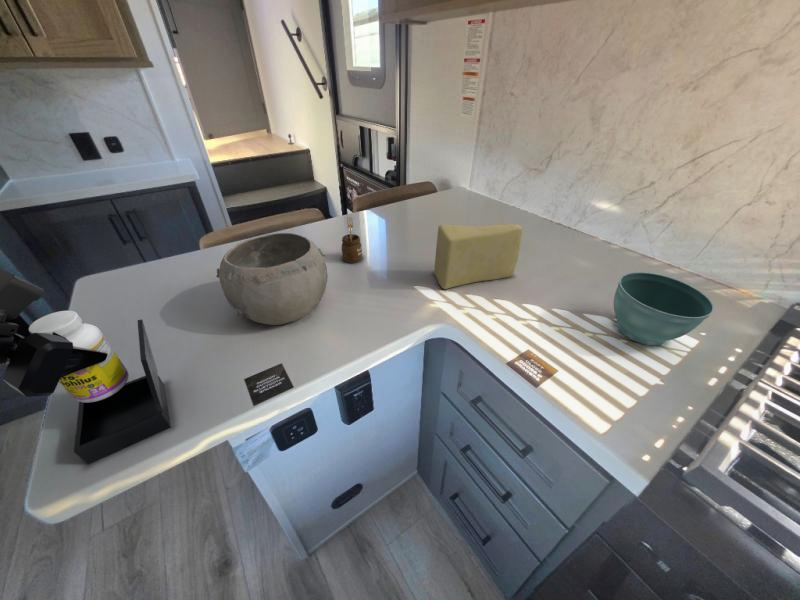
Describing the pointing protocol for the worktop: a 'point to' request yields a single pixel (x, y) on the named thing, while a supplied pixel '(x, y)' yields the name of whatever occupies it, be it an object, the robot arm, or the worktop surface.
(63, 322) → the supplement bottle
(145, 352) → the lid
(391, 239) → the worktop surface
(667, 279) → the teal green bowl
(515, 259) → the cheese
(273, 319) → the bowl
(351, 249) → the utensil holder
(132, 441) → the black open box
